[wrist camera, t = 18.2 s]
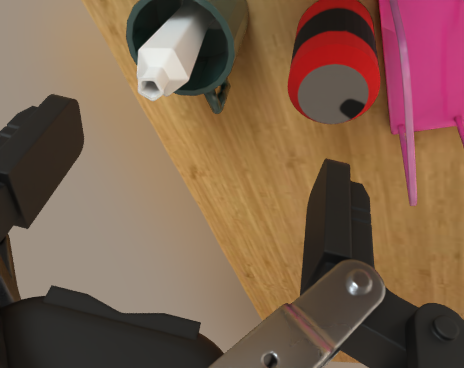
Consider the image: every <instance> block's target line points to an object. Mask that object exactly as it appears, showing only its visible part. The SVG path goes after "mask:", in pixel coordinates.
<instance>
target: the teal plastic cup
mask: <svg viewBox="0 0 464 368" xmlns="http://www.w3.org/2000/svg"><path fill="white" fill-rule="evenodd" d="M193 1H196V2H197V3H199V4H200V5H202V6H203V7H204V8H206V9H207V10H209V11H210V12H211V13H212V14H213V16H214V17H215V18H216V20H215V21H213V22H212V23H211V24H210V25H209V26H208V28H207V31H206V34H205V36H204V39H203V42H202V45H201V47H200V50H199V53H198V56H197V59H196V61H195V64H194V67H193V70H192V72H191V75H190V78H189V81H188V82H186V83H185V84H184V85H182V86H181V87H180V88H178V89H177V90H176V91H174V92H173V93H175V94H179V95H190V96H196V95H200V94H204V95H205V97H206V99H207V102H208V104H209V106H210V108H211V110H212V112H213V113H215V114H219V113H221V112H222V110H223V107H224V104H225V102H226V99H227V96H228V93H229V91H230V87H231V86H230V83H229V81H228V78H227V76H228V75H229V74H230V72H231V70H232V67H233V65H234V62H235V60H236V57H237V54H238V52H239V49H240V46H241V44H242V41H243V39H244V35H245V32H246V29H247V25H248V5H247V1H246V0H193ZM181 6H182V0H139V1H138V2H137V3H136V4H135V5H134V7H133V9H132V11H131V13H130V15H129V18H128V20H127V30H126V39H127V43H128V47H129V51H130V54H131V56H132V58H133V60H134V61H135V63H136V65H137V64H138V50H139V49H140V48H141V47H142V46H143V45H144V44H145V43H146V42H147V41H148V40H149V39H150V38H151V37H152V36H153V35H154V34H155V33H156V32H157V31H158V30H159V29H160V28H161V27H162V26H163V24H164V23H165V22H166V21H167V20H168V19H169V18H170V17H171V16H172V15H173V14H174V13H175V12H176V11H177V10H178V9H179V8H180V7H181ZM218 86H219V89H218V92H217V94H216V91H215V88H217V87H218Z"/></svg>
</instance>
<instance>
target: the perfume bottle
mask: <svg viewBox="0 0 464 368" xmlns="http://www.w3.org/2000/svg"><path fill="white" fill-rule="evenodd" d="M215 20H216V18H215V17H214V16H213V14H212V13H211V12H210V11H209V10H207V9H206V8H204V7H203V6H202V5H200V4H199V3H197V2H196V1H193V0H182V6H181V7H180V8H179V9H178V10H177V11H176V12H175V13H174V14H173V15H172V16H171V17H170V18H169V19H168V20H167V21H166V22H165V23H164V24H163V26H162V27H161V28H160V29H159V30H158V31H157V32H156V33H155V34H154V35H153V36H152V37H151V38H150V39H149V40H148V41H147V42H146V43H145V44H144V45H143V46H142V47H141V48H140V49H139V50H138V64H137V79H138V93H139V94H141V95H142V96H144V97H146V98H147V99H149V100H151V101H155V100H157V99H158V98H159V97H161V96H162V95H164V96H169V95H171V94H172V93H173V92H174V91H176V90H177V89H178V88H180V87H181V86H182V85H184V84H185V83H186V82H188V81H189V78H190V75H191V72H192V70H193V67H194V64H195V61H196V59H197V56H198V53H199V50H200V47H201V45H202V42H203V39H204V36H205V34H206V31H207V28H208V26H209V25H210V24H211V23H212V22H213V21H215Z"/></svg>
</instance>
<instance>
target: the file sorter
mask: <svg viewBox="0 0 464 368" xmlns="http://www.w3.org/2000/svg"><path fill="white" fill-rule="evenodd" d="M378 3H379V13H380V24H381V34H382V45H383V56H384V66H385V77H386V88H387V99H388V110H389V121H390V128H391V132H392V134H399V137H400V143H401V149H402V155H403V162H404V169H405V176H406V182H407V189H408V196H409V203H410V206H416V205H417V187H416V166H415V146H414V132H415V131H423V130H430V129H437V128H443V127H451V126H457V128H458V132H459V135H460V138H461V140H462V144H463V147H464V126H463V125H464V0H378ZM405 133H406V138H405ZM406 143H407V144H406Z"/></svg>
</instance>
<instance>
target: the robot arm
mask: <svg viewBox="0 0 464 368" xmlns="http://www.w3.org/2000/svg"><path fill="white" fill-rule="evenodd" d="M83 144H84V134H83V128H82V122H81V115H80V109H79V105H78V102H77V100H75V99H71V98H67V97H63V96H59V95H54V94H51V95H49V96H48V97H47V98H46V99H45V100H44V101H43V102H42V104H40V105H39V107H35V106H32V107H30V108H28V109H26V110H24V111H22V112H20V113H18V114H17V115H16V116H15V117H14V118H13V119H12V120H11V121H10V122H9V123H8V124H7V127H4V128H3V129H2V130H1V131H0V368H324V367H325V366H326V365H327V364H328V363H329V362H330V361H331V360H332V359H333V358H334V357H335V355H336V354H337V353H338V352H339V351H340V350H341V351H343V352H344V353H346V354H348V355H349V356H351V357H352V358H354V359H356V360H357V361H359V362H361V363H362V364H364V365H366V366H367V367H369V368H464V320H463V319H462V318H461V317H460V316H459V315H458V314H457V313H456V312H455V311H453V310H452V309H450V308H448V307H446V306H444V305H441V304H437V303H427V304H424V305H422V306H421V307H420V308H418V307H416V306H415V305H413V304H411V303H409V302H407V301H405V300H404V299H402V298H400V297H398V296H397V295H395V294H393V293H392V292H391V291H389V290H388V289H387V288H386V287H385V285H384V282H383V279H382V278H381V276H380V275H379V273H378V272H377V271H376V270H375V267H374V256H373V241H372V226H371V214H370V197H369V196H368V194H367V192H366V190H365V188H364V186H363V185H362V184H360V183H356V182H352V181H350V165H349V164H347V163H343V162H339V161H335V160H330V159H325V160H324V162H323V164H322V167H321V169H320V171H319V174H318V176H317V179H316V181H315V184H314V186H313V188H312V191H311V194H310V197H309V201H308V206H307V215H306V228H305V240H304V253H303V265H302V278H301V290H300V297H299V298H297V299H296V300H295V301H294V302H292V303H291V304H288V303H285V304H283V305H282V306H280V307H279V308H278V309H276V310H275V311H274V312H273V313H272V314H271V315H269V316H268V317H267V318H266V319H265V320H263V321H262V322H261V323H260V324H259V325H258V326H256V327H255V328H254V329H253V330H252V331H250V332H249V333H248V334H247V335H246V336H245V337H243V338H242V339H241V340H240V341H239V342H238V343H236V344H235V345H234V346H233V347H232V348H230V349H229V350H228V351H227V352H226V353H223V352H222V351H221V349H220V348H219V347H218V346H217V345H216V344H215V343H213V342H212V341H211V340H209V339H208V338H207V337H205V336H204V335H202V334H200V333H199V329H200V324H201V323H200V322H197V321H193V320H189V319H185V318H181V317H177V316H173V315H169V314H165V313H121V312H119V311H117V310H115V309H113V308H111V307H110V306H107V305H106V304H104V303H103V302H101V301H99V300H97V299H95V298H93V297H91V296H90V295H88V294H85V293H81V292H77V291H72V290H68V289H65V288H61V287H57V286H51V288H50V290H49V291H48V293H47V295H46V296H39V297H32V298H27V299H22V300H21V298H20V294H19V291H18V287H17V281H16V276H15V270H14V263H13V257H12V251H11V245H10V238H9V235H8V232H9V231H10V229H11V228H12V227H13V225H14V226H19V227H22V228H26V229H28V228H29V227H30V225H31V224H32V222H33V221H34V220H35V218H36V217H37V215H38V214H39V212H40V211H41V210H42V208H43V207H44V205H45V204H46V202H47V201H48V200H49V198H50V196H51V195H52V194H53V192H54V191H55V190H56V188H57V187H58V185H59V184H60V182H61V181H62V179H63V178H64V177H65V175H66V174H67V172H68V171H69V170H70V168H71V167H72V165H73V164H74V162H75V161H76V160H77V158H78V157H79V155H80V153H81V151H82V148H83Z"/></svg>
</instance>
